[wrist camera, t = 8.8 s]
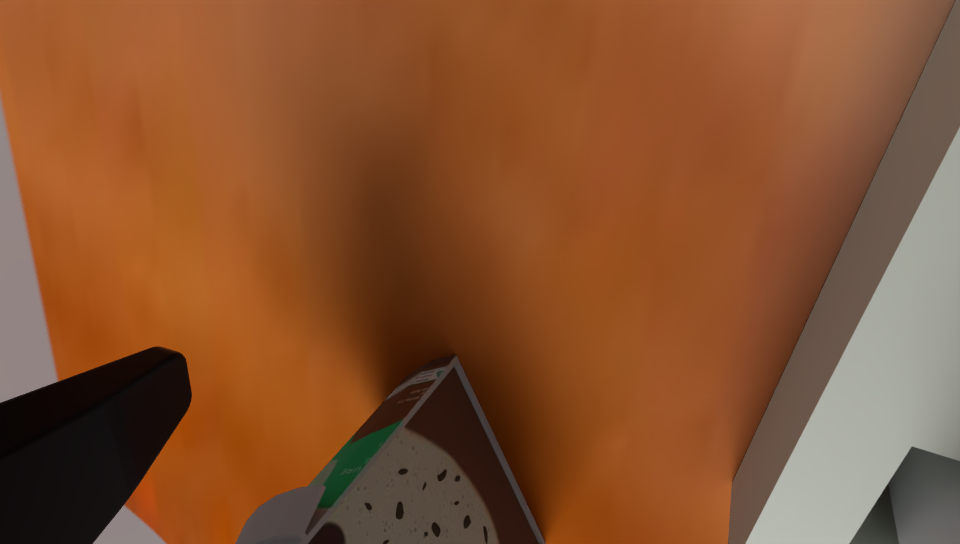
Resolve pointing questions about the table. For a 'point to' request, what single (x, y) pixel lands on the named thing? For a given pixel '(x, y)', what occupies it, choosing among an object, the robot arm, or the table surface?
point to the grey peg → (926, 498)
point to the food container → (408, 477)
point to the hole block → (871, 345)
